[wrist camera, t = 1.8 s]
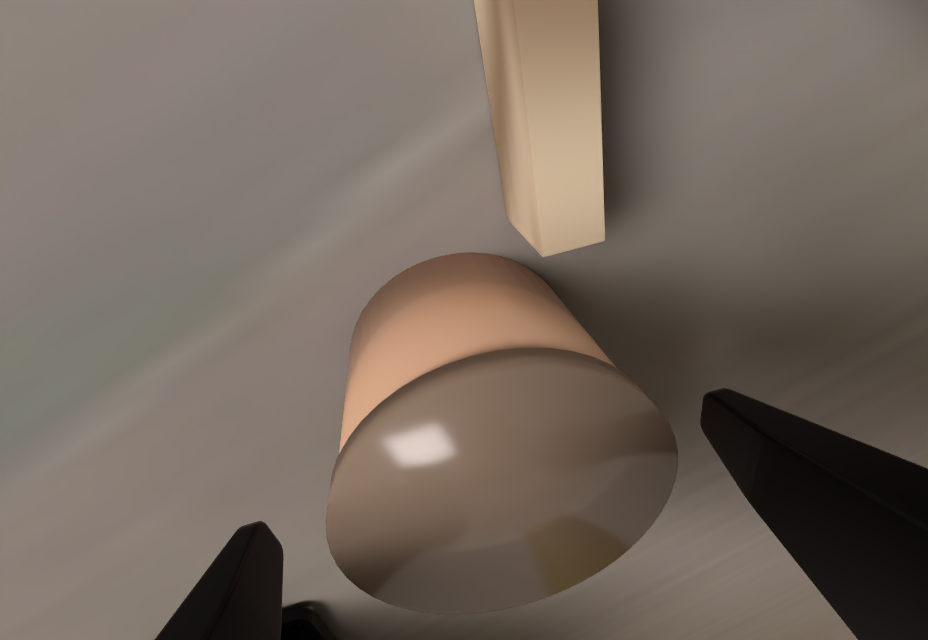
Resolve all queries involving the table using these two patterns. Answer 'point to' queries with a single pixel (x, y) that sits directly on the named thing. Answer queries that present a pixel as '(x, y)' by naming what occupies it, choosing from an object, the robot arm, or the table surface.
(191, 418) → the table surface
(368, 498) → the jar
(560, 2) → the lane
